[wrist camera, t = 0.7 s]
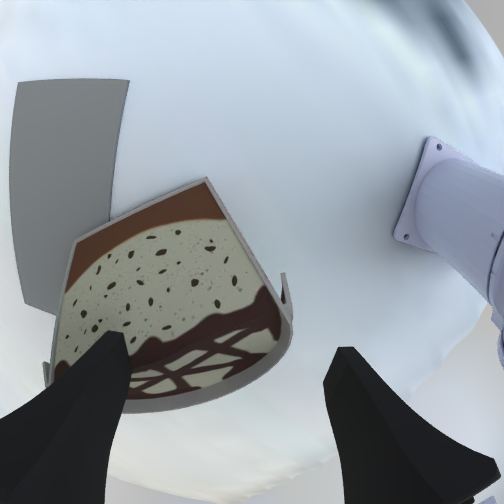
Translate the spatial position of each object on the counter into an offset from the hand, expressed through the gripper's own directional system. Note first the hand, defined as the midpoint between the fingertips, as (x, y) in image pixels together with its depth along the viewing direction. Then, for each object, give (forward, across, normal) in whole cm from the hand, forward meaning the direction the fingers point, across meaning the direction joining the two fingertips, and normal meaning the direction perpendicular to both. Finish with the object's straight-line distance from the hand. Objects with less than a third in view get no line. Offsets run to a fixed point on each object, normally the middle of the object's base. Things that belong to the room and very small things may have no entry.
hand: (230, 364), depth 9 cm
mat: (+11, +14, -1) cm, 18 cm away
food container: (+10, +5, 0) cm, 11 cm away
